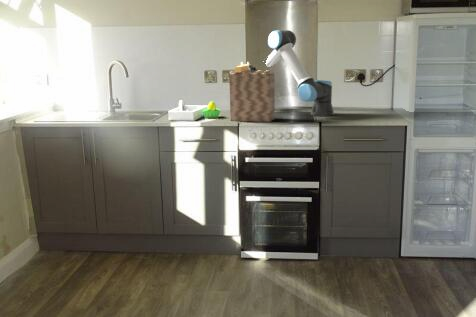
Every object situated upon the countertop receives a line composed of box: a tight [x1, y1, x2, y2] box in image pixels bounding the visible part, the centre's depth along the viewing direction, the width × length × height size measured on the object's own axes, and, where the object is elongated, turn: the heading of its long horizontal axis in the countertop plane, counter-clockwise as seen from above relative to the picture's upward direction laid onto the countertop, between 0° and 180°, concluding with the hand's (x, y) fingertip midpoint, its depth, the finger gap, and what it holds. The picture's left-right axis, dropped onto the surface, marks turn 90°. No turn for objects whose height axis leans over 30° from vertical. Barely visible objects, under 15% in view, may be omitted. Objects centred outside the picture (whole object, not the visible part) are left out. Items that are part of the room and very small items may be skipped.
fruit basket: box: [202, 100, 221, 119], centre depth 342 cm, size 11×9×11 cm
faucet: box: [178, 99, 188, 111], centre depth 348 cm, size 14×11×20 cm
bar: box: [234, 63, 249, 72], centre depth 329 cm, size 4×24×4 cm, turn 164°
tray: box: [167, 104, 208, 122], centre depth 346 cm, size 17×28×6 cm, turn 164°
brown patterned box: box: [228, 69, 276, 123], centre depth 327 cm, size 26×14×32 cm, turn 74°
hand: (244, 63), depth 332 cm, fingers closed on bar, 3 cm apart
